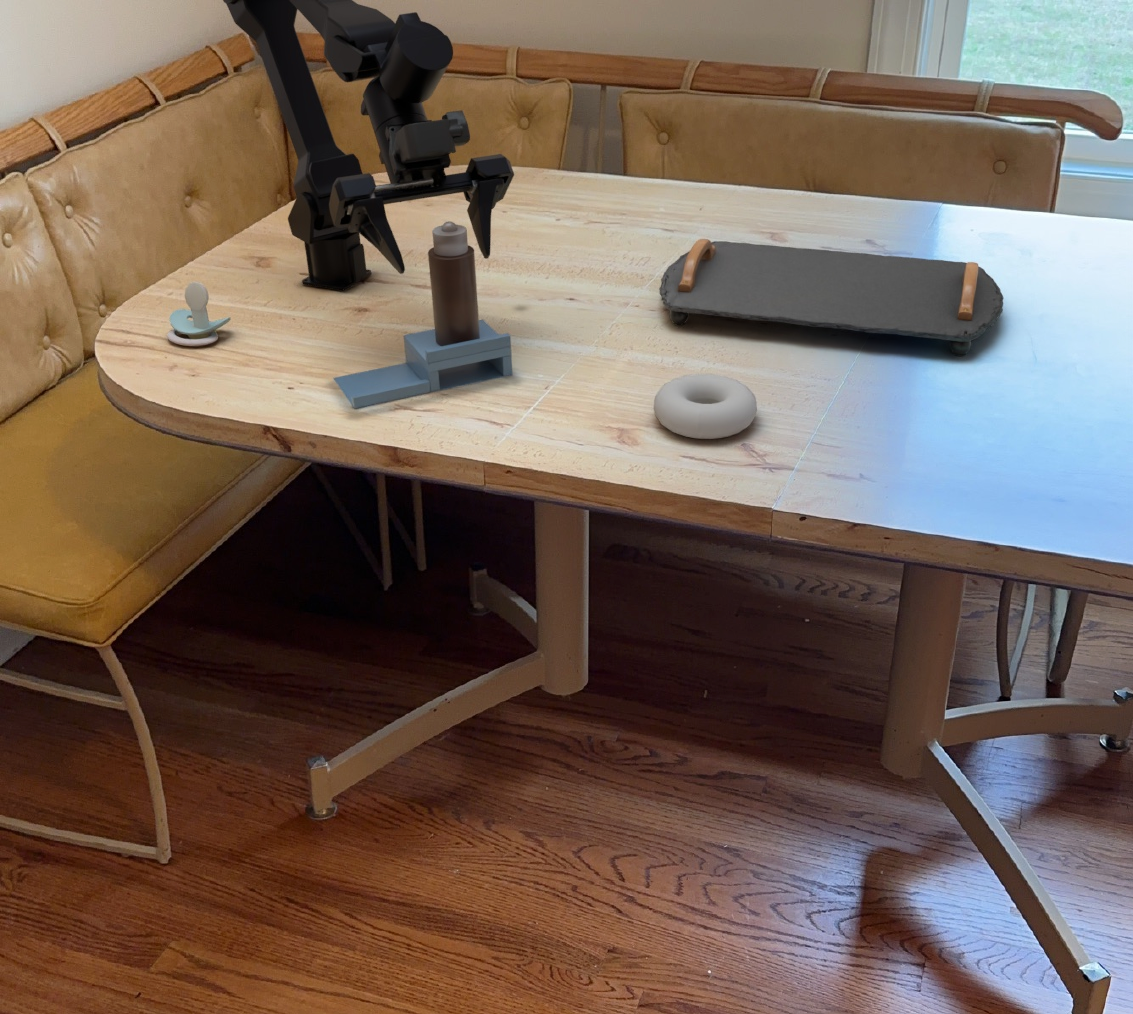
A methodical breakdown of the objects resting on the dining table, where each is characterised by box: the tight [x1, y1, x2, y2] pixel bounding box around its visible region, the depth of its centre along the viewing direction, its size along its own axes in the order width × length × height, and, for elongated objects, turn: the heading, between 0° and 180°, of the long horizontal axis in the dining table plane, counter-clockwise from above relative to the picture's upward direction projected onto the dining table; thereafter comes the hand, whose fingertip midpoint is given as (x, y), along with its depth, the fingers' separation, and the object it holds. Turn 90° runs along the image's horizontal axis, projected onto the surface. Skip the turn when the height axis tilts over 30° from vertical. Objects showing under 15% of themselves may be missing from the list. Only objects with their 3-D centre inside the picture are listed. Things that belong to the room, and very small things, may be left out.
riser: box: [333, 319, 513, 410], centre depth 125 cm, size 8×17×5 cm, turn 115°
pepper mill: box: [427, 220, 480, 346], centre depth 122 cm, size 5×5×13 cm
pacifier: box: [166, 281, 232, 347], centre depth 136 cm, size 7×6×6 cm
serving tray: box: [659, 238, 1004, 357], centre depth 139 cm, size 39×23×6 cm, turn 72°
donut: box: [653, 373, 758, 440], centre depth 117 cm, size 10×4×10 cm
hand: (445, 264), depth 123 cm, fingers open, 9 cm apart
